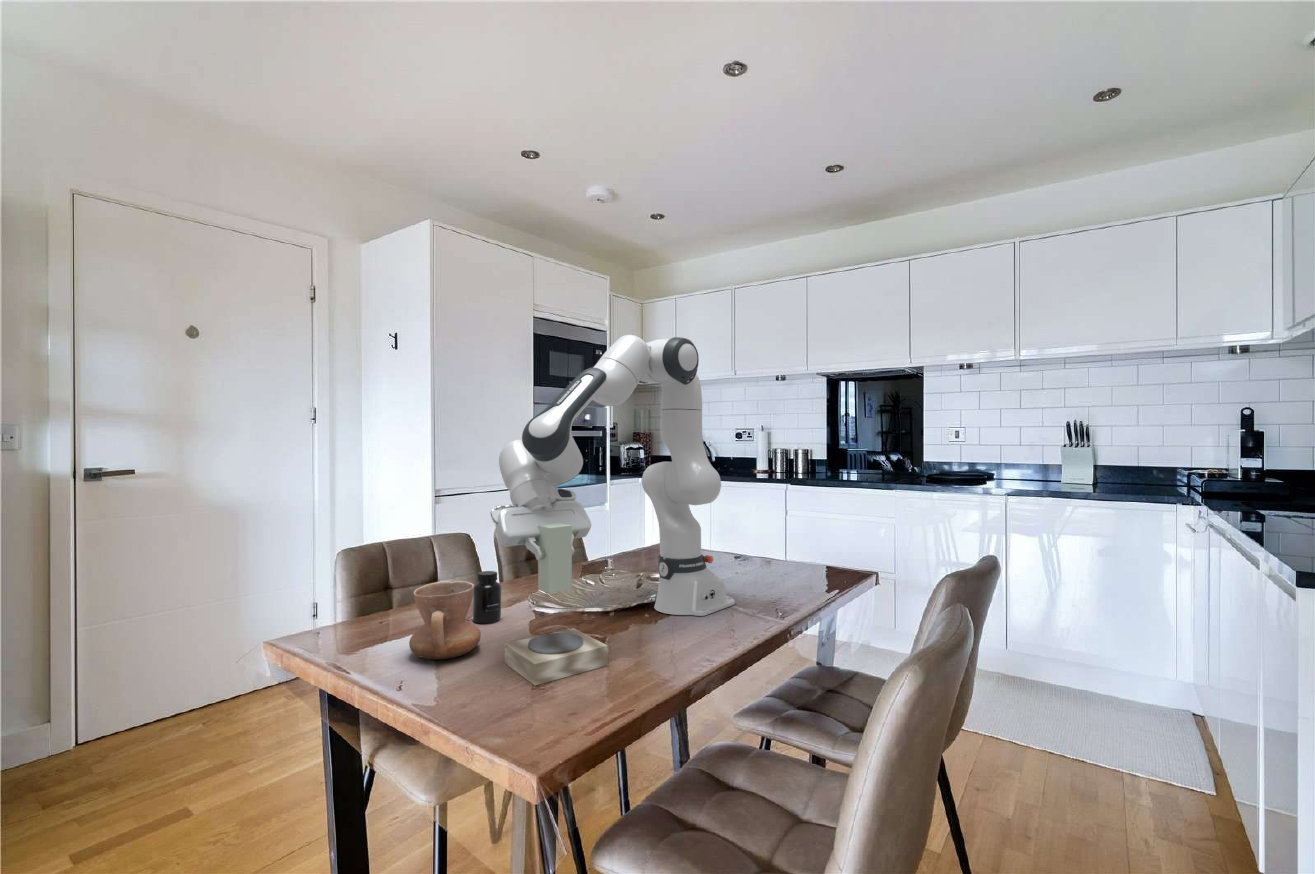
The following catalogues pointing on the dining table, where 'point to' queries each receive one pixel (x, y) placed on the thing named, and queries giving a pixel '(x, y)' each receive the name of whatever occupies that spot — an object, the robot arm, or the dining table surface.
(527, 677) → the birch base
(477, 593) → the supplement bottle
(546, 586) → the sage block
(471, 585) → the ceramic jug
